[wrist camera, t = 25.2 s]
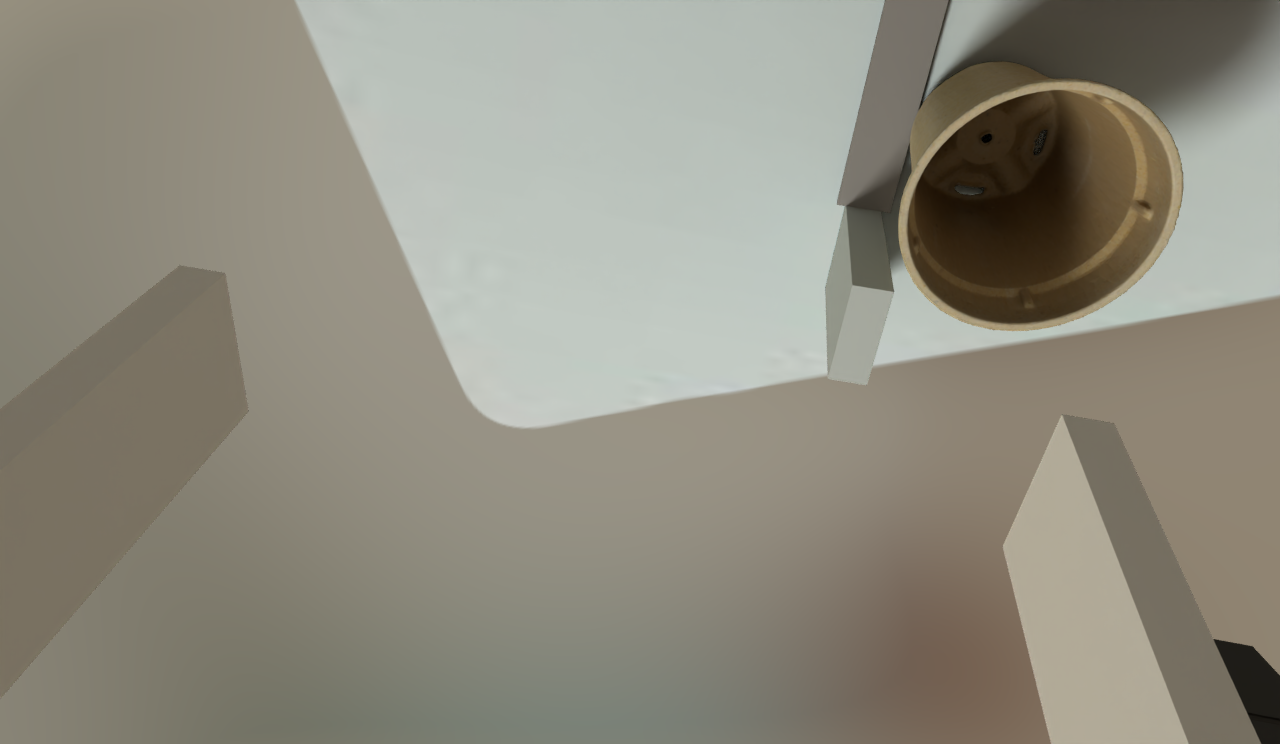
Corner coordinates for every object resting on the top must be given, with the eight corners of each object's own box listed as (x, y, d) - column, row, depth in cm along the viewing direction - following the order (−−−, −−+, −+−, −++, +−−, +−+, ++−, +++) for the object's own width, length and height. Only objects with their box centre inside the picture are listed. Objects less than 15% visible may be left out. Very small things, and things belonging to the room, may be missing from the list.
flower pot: (1095, -15, 36) (1180, 42, 29) (1112, 202, 41) (1189, 298, 34) (852, 58, 38) (875, 128, 31) (894, 255, 43) (922, 355, 36)
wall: (982, -411, 30) (1030, -459, 24) (1057, -402, 30) (1126, -448, 24) (817, 286, 45) (818, 377, 38) (866, 294, 45) (876, 386, 38)
